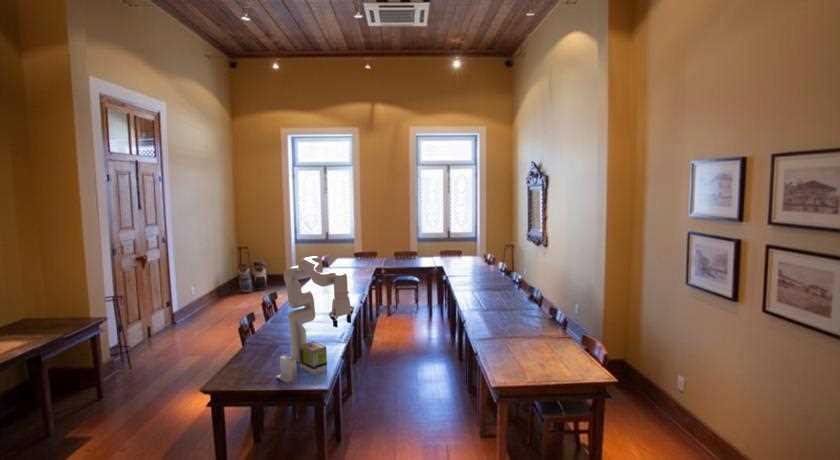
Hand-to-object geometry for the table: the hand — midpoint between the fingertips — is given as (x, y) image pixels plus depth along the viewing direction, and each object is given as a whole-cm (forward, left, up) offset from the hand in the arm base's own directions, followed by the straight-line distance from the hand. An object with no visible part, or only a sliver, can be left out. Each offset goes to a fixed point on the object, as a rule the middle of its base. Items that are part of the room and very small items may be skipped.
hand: (342, 324), depth 259 cm
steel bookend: (-24, -23, -31) cm, 45 cm away
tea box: (-24, -4, -32) cm, 40 cm away
